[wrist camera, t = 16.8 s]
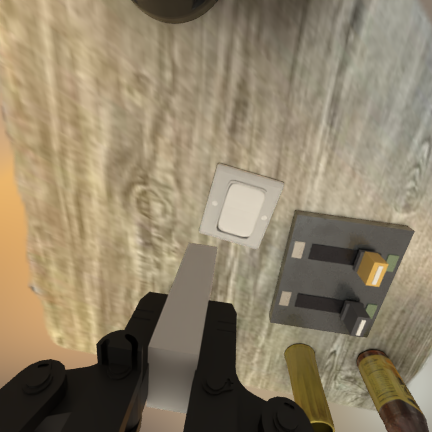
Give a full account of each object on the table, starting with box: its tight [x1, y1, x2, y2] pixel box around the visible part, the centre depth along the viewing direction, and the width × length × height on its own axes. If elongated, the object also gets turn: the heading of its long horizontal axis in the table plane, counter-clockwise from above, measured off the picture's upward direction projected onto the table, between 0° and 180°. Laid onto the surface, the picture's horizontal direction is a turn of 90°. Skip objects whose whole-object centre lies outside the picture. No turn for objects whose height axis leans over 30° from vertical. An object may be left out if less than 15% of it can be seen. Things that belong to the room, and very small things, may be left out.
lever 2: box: [339, 300, 371, 337], centre depth 44 cm, size 4×3×4 cm
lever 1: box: [352, 250, 389, 287], centre depth 41 cm, size 4×3×4 cm
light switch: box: [199, 163, 284, 249], centre depth 43 cm, size 11×4×13 cm
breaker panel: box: [269, 210, 414, 337], centre depth 46 cm, size 22×18×2 cm
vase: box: [284, 344, 335, 432], centre depth 48 cm, size 6×6×14 cm
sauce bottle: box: [357, 350, 429, 432], centre depth 44 cm, size 7×6×20 cm
